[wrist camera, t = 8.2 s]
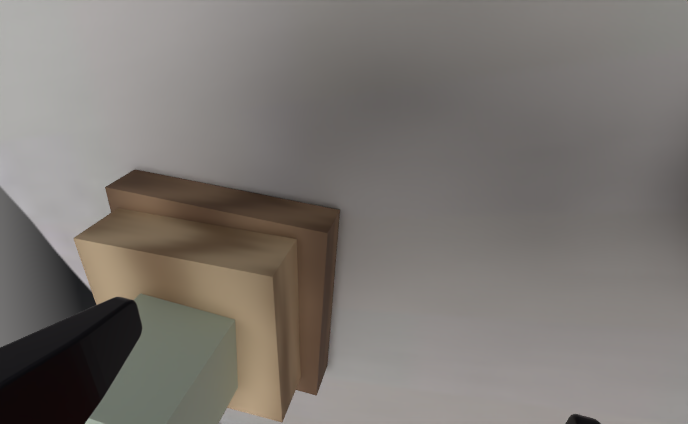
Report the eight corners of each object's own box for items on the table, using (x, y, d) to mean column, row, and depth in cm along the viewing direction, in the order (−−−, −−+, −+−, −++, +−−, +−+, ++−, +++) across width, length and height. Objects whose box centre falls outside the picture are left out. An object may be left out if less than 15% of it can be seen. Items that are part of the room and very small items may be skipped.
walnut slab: (343, 203, 22) (327, 233, 20) (330, 357, 28) (316, 395, 26) (142, 164, 24) (105, 187, 22) (170, 316, 30) (144, 347, 28)
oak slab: (296, 239, 20) (272, 276, 18) (300, 377, 25) (282, 422, 23) (118, 208, 22) (73, 238, 20) (154, 342, 27) (122, 379, 25)
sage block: (235, 319, 20) (154, 440, 15) (238, 387, 22) (170, 509, 17) (140, 293, 20) (33, 399, 15) (153, 361, 23) (66, 471, 18)
